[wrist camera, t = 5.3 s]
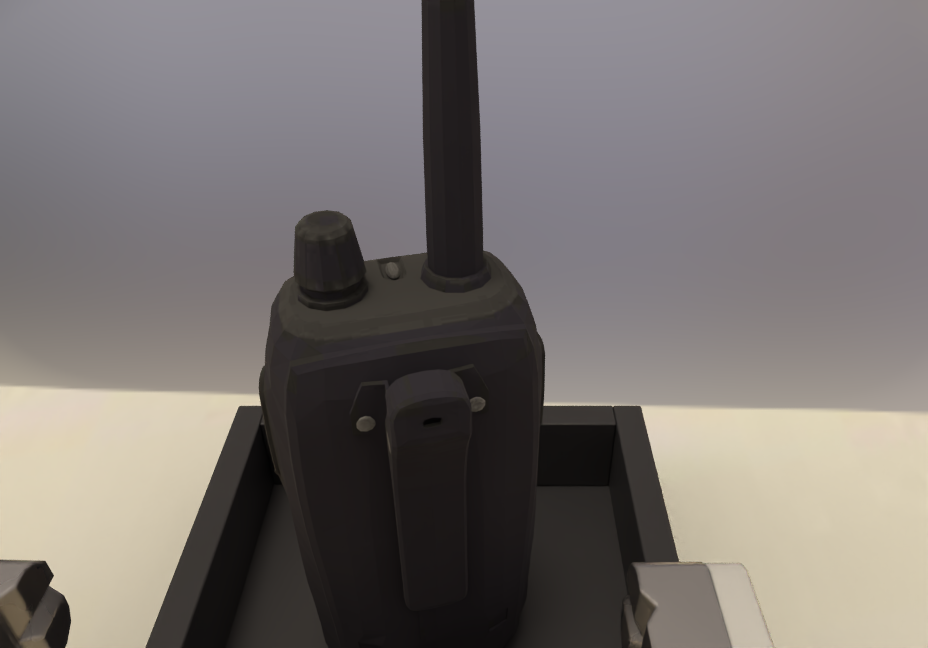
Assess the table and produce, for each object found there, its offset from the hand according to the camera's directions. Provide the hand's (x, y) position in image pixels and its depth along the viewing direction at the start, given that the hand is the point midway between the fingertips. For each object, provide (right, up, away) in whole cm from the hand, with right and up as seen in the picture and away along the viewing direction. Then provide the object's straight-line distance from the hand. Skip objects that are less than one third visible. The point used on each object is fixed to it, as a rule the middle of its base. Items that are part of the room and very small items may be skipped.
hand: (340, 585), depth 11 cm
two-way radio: (+1, -4, +8) cm, 9 cm away
